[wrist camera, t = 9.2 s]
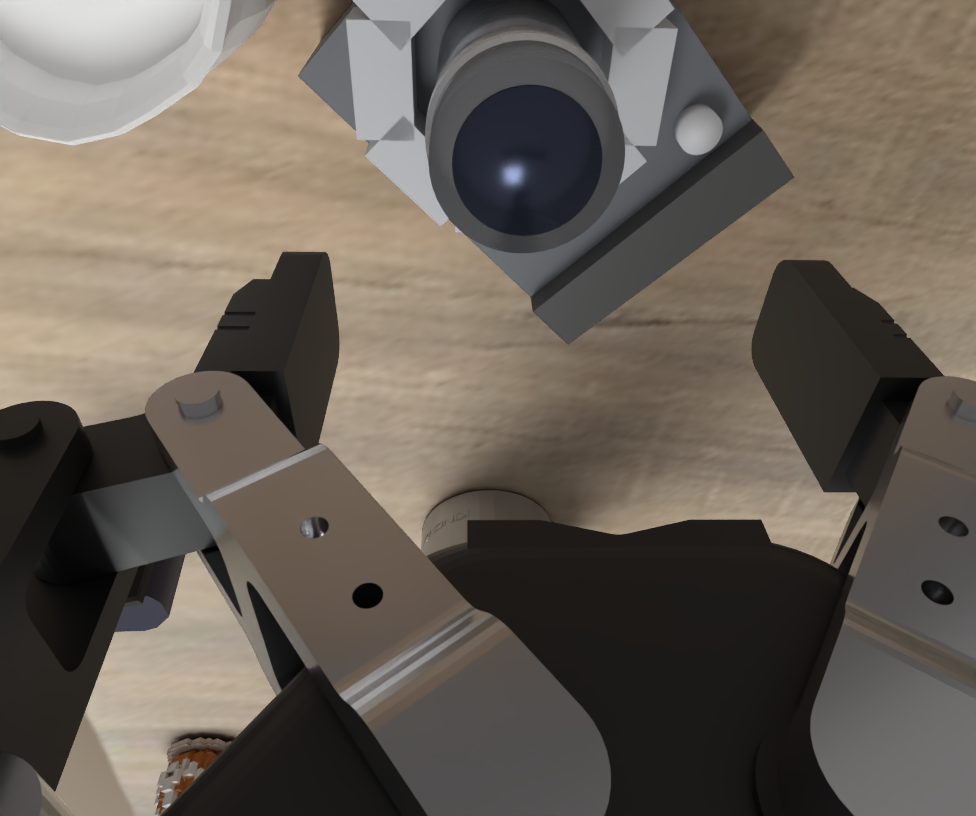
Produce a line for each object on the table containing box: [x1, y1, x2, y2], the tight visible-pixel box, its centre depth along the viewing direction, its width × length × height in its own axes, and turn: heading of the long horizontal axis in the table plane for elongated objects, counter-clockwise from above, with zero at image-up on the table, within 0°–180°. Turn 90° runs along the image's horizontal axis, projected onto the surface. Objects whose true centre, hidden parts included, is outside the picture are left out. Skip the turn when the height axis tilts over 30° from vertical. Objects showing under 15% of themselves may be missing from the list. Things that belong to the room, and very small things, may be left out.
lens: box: [425, 0, 625, 253], centre depth 21 cm, size 5×5×9 cm
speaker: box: [115, 554, 185, 632], centre depth 41 cm, size 8×6×10 cm
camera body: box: [298, 0, 794, 344], centre depth 27 cm, size 15×11×7 cm
